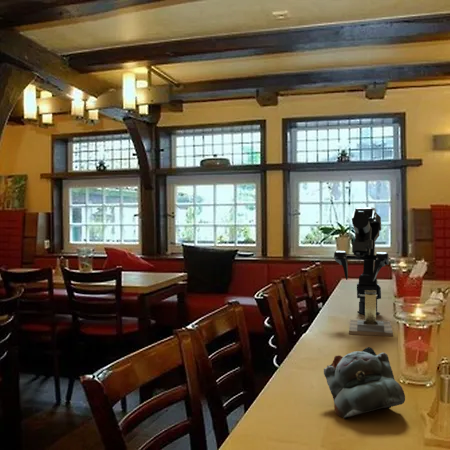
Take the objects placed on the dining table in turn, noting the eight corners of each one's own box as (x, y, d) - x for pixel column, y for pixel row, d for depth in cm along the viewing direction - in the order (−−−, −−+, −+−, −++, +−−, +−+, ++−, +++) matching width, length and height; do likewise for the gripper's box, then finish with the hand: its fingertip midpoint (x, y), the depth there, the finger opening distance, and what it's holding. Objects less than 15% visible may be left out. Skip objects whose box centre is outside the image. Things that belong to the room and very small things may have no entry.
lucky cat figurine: (328, 421, 103) (312, 350, 110) (339, 424, 114) (324, 359, 120) (406, 406, 99) (385, 333, 105) (410, 410, 110) (391, 344, 116)
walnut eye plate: (350, 322, 197) (350, 313, 197) (389, 323, 193) (389, 315, 193) (349, 334, 177) (349, 325, 177) (393, 336, 174) (393, 327, 174)
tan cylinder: (364, 326, 183) (364, 289, 182) (376, 327, 182) (376, 290, 182) (364, 328, 179) (364, 291, 179) (376, 329, 178) (376, 291, 178)
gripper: (333, 230, 190) (329, 271, 185) (387, 231, 183) (385, 274, 178) (338, 241, 200) (334, 281, 194) (390, 243, 193) (387, 284, 187)
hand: (359, 280), depth 188 cm, fingers open, 9 cm apart
